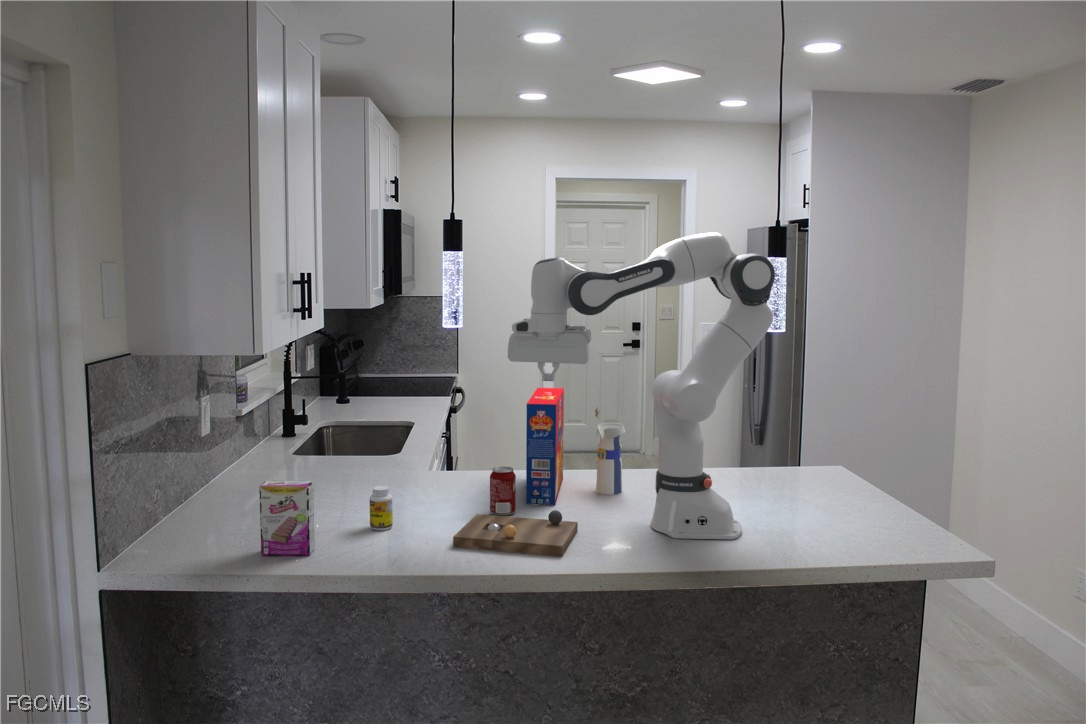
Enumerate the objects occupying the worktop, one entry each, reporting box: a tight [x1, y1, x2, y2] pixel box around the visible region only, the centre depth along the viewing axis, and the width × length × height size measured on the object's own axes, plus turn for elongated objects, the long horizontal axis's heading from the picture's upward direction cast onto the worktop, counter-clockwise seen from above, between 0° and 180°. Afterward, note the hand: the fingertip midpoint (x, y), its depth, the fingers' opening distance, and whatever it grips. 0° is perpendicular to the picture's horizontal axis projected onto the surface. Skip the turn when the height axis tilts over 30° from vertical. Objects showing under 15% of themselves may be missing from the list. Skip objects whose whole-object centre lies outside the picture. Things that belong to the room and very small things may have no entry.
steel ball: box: [487, 523, 501, 531], centre depth 206 cm, size 3×3×3 cm
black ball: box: [547, 509, 563, 524], centre depth 209 cm, size 3×3×3 cm
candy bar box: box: [259, 480, 316, 557], centre depth 194 cm, size 11×5×16 cm, turn 92°
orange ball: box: [504, 525, 517, 538], centre depth 198 cm, size 3×3×3 cm
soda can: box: [489, 465, 517, 517], centre depth 225 cm, size 7×7×12 cm
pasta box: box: [525, 387, 565, 506], centre depth 246 cm, size 28×8×28 cm, turn 174°
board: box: [452, 513, 579, 557], centre depth 205 cm, size 26×18×2 cm
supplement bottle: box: [369, 485, 394, 532], centre depth 212 cm, size 6×6×10 cm
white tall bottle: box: [594, 406, 626, 496], centre depth 245 cm, size 8×9×25 cm
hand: (548, 380), depth 210 cm, fingers closed
